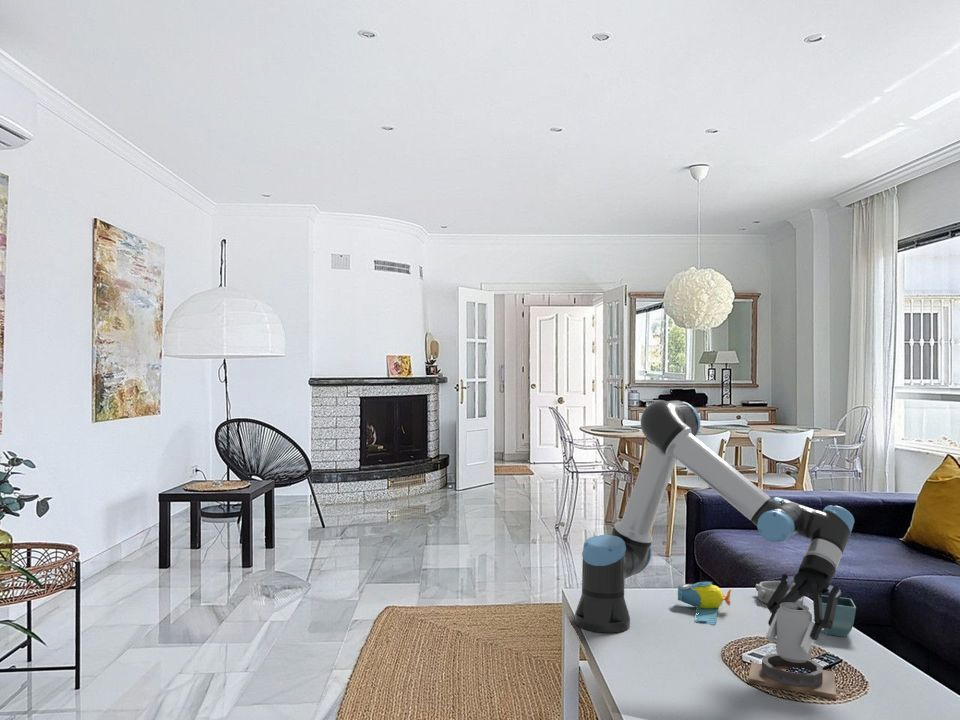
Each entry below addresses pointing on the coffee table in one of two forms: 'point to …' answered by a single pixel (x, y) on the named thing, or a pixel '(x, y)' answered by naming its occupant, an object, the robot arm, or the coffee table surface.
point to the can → (792, 631)
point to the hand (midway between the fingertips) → (786, 644)
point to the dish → (771, 591)
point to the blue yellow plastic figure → (703, 600)
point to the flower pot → (840, 616)
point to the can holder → (793, 676)
